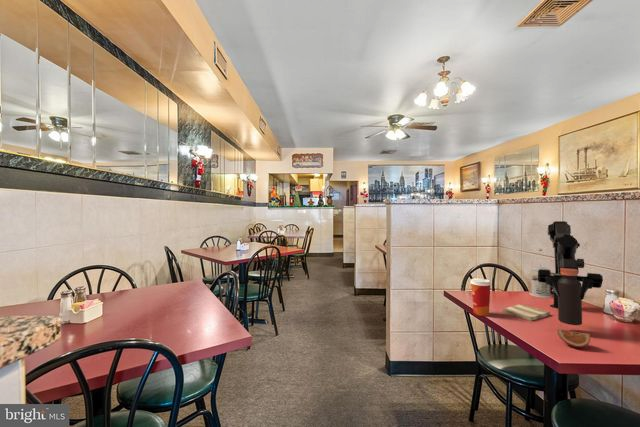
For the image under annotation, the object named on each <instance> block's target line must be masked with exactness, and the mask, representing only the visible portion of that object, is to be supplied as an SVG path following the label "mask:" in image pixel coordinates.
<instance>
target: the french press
mask: <svg viewBox="0 0 640 427" xmlns="http://www.w3.org/2000/svg"><path fill="white" fill-rule="evenodd" d="M537 251H539V252H542V251H543V249H542V248H538V249H537ZM539 269H544V270H550V269H549V268H548V267H544V266H542V265H539V266H534V267H532V268H530V270H531V271H534V272H538V270H539ZM531 277H532V278H531V292H529V295H530V296H533V297H535V298H536V297H537V298H544V299H549V298H553V295H552V294H550V285H548V284H546V283H543V282H539V281H538V274H537V275H532V276H531Z"/></svg>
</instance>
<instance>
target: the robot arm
mask: <svg viewBox="0 0 640 427" xmlns="http://www.w3.org/2000/svg"><path fill="white" fill-rule="evenodd" d="M571 227H572V226H571V225H570V224H568V222H567V221H565V220H564V221H563V220H562V221H559V220H556V221H552V223H551V224H548V226H547V235H548V236H549V240H550V241H551V243H552V248H553V250H554V251H553V252H554V272H551V269H549V270H544V269H539V270H538V271H537V275H538V280H537V281H539V282H543V283H546V284H548V285H550V295H553V304H550V305H549V306H550V307H551V308H552V307H553V308H557V309H558V297H559V292H558V280H559V279H561V278H562V276H561V271H560V268H574V269H577V270H578V274H580V273H579V271H580V270H579V269H584V268H585V260H584V258H576V254H577V249H578V248H579V247H581V244H580V243H579V241H578V239H577V238H575V237H574V236H573V235H571V233H572V230H571ZM577 280H578V281H579V282H580V283H581V290H582V301H583V300H584V299H585V296H586V293H587V291H588V290H589V289H590V290H591V289H593V288H595V289H596V288H597V289H600V288H602V285H603V281H604V278H603V275H601V273H596V272H594V273H593V272H587V273H586V276H584V275H578V277H577Z"/></svg>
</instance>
